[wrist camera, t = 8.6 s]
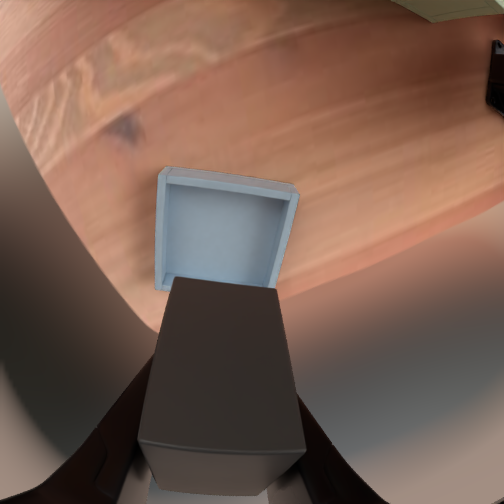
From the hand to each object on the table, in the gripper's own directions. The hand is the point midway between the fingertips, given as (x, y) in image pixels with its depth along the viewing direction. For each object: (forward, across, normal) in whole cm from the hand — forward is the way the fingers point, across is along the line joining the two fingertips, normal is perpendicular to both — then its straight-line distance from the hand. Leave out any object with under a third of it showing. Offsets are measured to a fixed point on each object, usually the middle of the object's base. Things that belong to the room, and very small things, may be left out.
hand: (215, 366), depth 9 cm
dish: (+12, 0, +1) cm, 12 cm away
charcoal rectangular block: (+1, 0, 0) cm, 1 cm away
